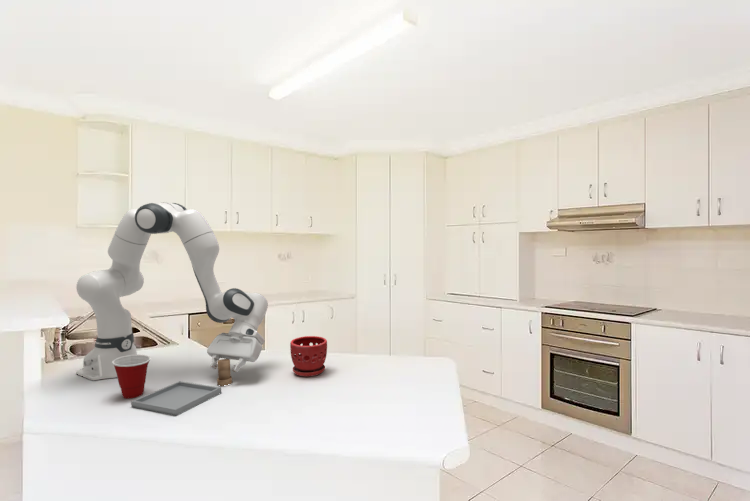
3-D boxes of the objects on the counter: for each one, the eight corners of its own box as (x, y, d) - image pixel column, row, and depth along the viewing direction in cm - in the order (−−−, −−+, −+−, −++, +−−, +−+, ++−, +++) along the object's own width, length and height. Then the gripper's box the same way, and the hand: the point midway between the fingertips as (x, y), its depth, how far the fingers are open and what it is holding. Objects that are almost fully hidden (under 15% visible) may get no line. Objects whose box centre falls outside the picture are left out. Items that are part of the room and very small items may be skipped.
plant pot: (284, 377, 152) (283, 343, 151) (302, 365, 164) (301, 334, 164) (318, 380, 148) (316, 346, 147) (333, 368, 160) (332, 336, 160)
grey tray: (131, 407, 129) (131, 401, 129) (179, 386, 146) (179, 381, 146) (175, 416, 122) (175, 409, 122) (221, 392, 139) (221, 387, 139)
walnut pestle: (214, 385, 146) (213, 362, 146) (224, 380, 150) (223, 358, 150) (225, 387, 144) (224, 363, 144) (235, 382, 149) (234, 359, 148)
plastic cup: (136, 403, 133) (133, 364, 132) (105, 401, 135) (103, 363, 134) (160, 389, 143) (158, 354, 143) (132, 388, 145) (130, 353, 145)
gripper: (214, 327, 157) (195, 362, 149) (260, 331, 149) (242, 368, 141) (223, 337, 161) (205, 371, 153) (268, 341, 153) (252, 377, 145)
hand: (223, 369), depth 147 cm, fingers open, 8 cm apart
